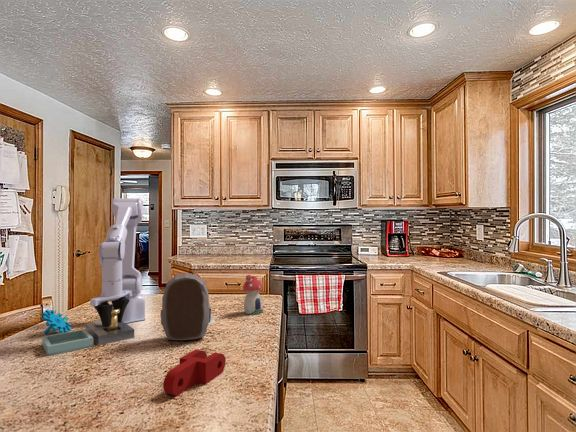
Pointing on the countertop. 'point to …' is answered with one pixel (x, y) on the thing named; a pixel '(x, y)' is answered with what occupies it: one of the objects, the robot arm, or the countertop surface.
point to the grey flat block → (105, 337)
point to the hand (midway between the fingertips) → (112, 324)
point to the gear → (55, 322)
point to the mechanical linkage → (193, 371)
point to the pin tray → (66, 342)
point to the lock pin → (114, 320)
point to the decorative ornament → (252, 295)
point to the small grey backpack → (185, 308)
